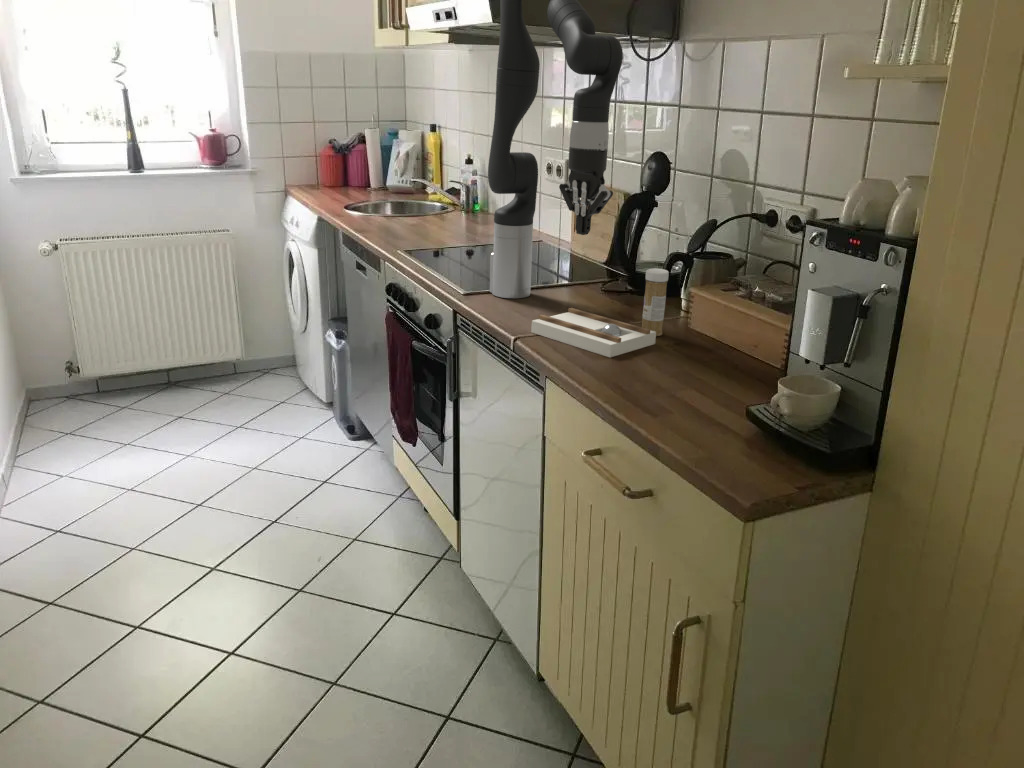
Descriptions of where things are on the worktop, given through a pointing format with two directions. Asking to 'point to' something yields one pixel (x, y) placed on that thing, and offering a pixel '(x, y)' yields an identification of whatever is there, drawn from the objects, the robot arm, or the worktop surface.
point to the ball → (612, 330)
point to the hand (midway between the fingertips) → (582, 234)
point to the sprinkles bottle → (654, 300)
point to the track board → (592, 332)
